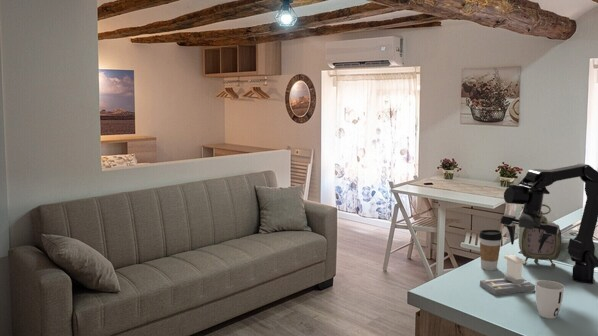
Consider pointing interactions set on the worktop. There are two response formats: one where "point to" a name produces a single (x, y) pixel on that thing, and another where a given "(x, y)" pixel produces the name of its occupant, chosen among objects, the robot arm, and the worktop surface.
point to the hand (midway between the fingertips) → (525, 247)
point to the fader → (514, 269)
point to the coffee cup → (489, 248)
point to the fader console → (505, 286)
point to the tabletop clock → (532, 240)
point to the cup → (549, 298)
